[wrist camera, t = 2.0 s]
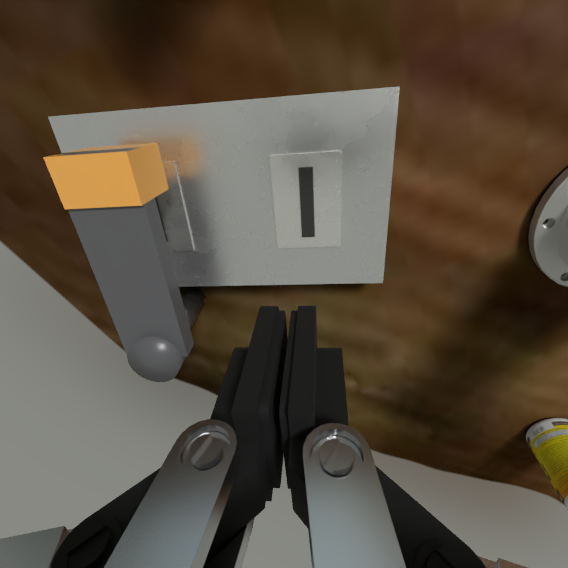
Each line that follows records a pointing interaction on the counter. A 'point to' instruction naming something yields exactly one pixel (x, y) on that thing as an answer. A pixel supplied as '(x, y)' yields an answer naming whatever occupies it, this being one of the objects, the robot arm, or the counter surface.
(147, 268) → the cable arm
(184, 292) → the pivot post
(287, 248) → the panel
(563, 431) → the supplement bottle
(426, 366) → the counter surface
